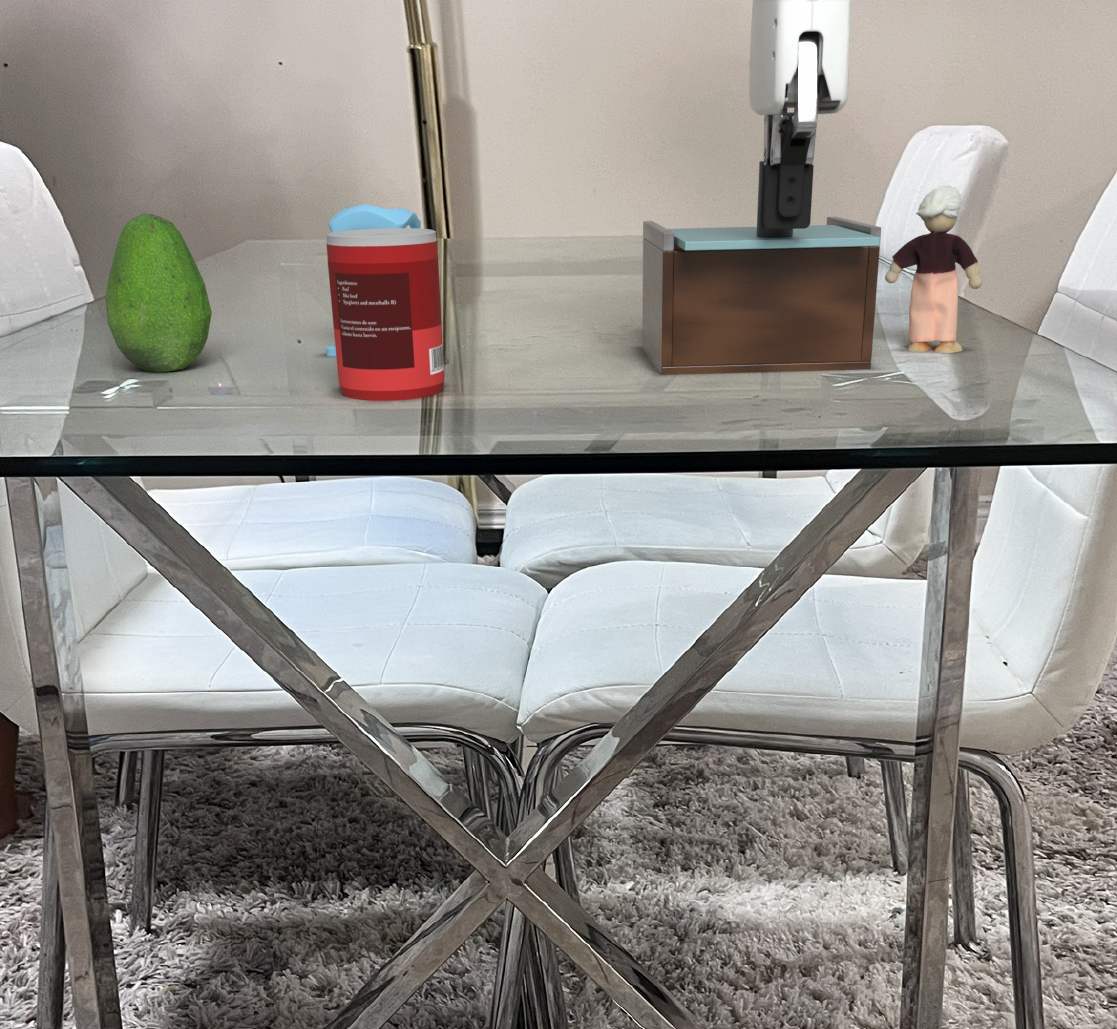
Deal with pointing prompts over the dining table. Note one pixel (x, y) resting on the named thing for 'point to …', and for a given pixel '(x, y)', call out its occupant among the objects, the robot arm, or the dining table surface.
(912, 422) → the dining table surface
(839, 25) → the robot arm
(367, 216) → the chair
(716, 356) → the box
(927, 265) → the grandmother figurine
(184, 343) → the avocado
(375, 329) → the canned food
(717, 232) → the lid
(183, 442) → the dining table surface
